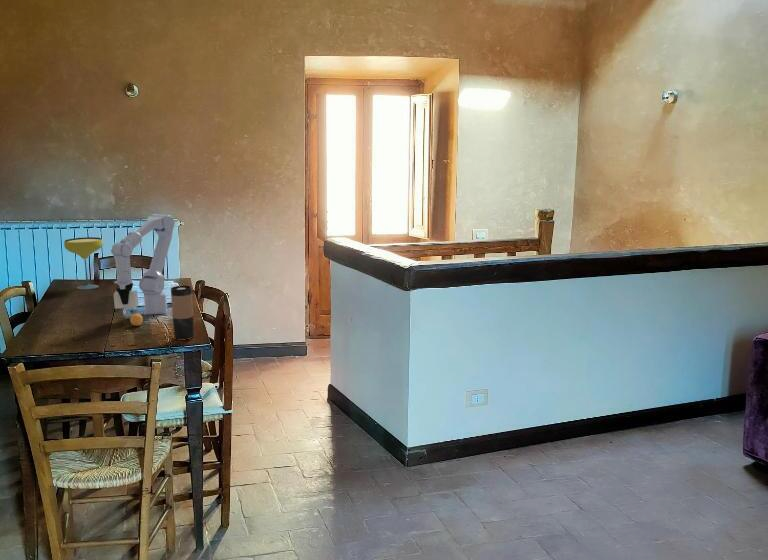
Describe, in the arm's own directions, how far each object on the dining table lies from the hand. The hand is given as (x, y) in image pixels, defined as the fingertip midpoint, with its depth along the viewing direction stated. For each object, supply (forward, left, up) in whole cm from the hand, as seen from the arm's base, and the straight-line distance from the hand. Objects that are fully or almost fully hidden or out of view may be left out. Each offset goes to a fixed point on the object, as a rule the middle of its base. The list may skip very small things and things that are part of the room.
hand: (126, 302), depth 296 cm
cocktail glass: (+28, -75, -8) cm, 81 cm away
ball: (-5, +10, -5) cm, 12 cm away
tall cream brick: (0, 0, -2) cm, 2 cm away
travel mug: (-25, +34, -8) cm, 42 cm away
